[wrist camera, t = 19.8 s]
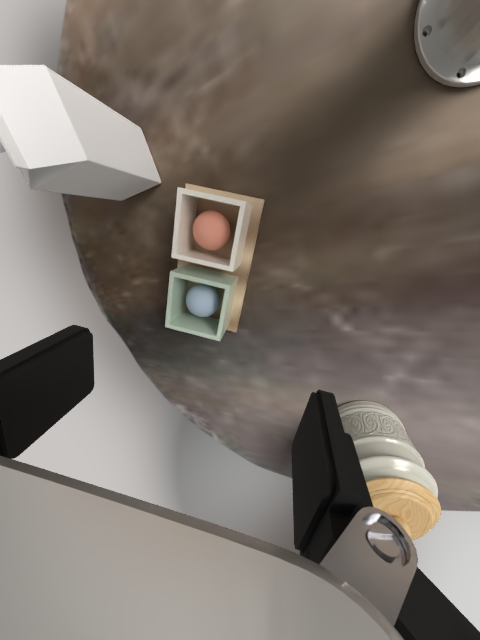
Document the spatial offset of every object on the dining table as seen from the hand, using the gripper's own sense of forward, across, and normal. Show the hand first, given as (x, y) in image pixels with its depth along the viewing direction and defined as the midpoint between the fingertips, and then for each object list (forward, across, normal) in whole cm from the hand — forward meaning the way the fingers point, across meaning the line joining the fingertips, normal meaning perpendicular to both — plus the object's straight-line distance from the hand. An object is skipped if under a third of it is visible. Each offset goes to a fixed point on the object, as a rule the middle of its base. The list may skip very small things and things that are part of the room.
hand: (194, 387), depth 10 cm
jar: (+31, -24, +24) cm, 46 cm away
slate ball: (+29, +7, +6) cm, 31 cm away
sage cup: (+29, +7, +6) cm, 31 cm away
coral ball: (+29, +7, -4) cm, 30 cm away
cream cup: (+29, +7, -4) cm, 30 cm away
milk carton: (+31, +21, -10) cm, 38 cm away
